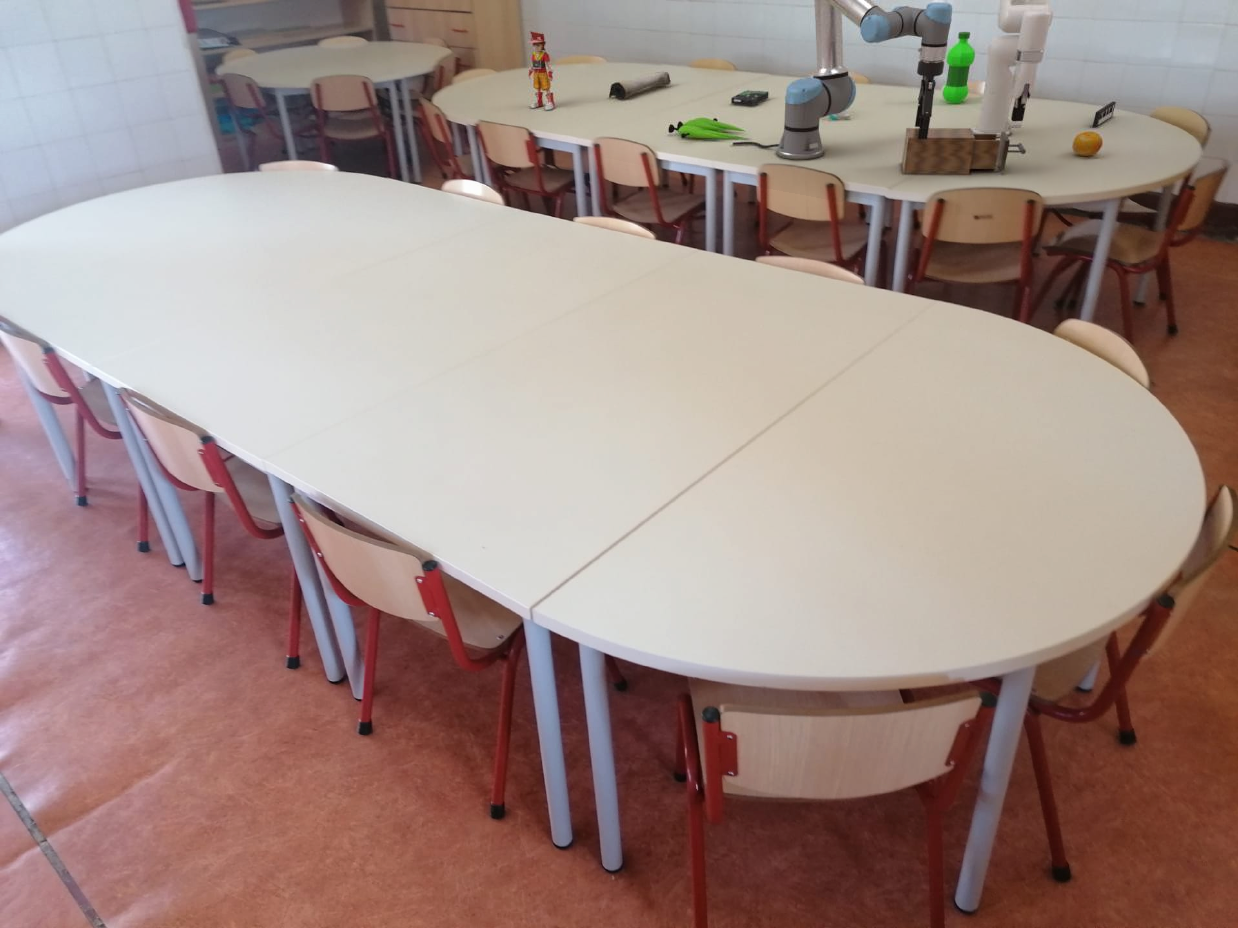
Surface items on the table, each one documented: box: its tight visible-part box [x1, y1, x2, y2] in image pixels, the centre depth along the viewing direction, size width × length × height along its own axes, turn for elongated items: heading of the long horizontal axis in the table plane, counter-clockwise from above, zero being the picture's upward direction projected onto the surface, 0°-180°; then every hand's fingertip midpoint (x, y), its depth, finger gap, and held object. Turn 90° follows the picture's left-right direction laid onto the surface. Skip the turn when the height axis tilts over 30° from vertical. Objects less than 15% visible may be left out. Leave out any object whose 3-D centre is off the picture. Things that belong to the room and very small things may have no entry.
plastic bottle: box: [942, 31, 976, 104], centre depth 348 cm, size 10×10×25 cm
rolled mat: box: [608, 71, 672, 101], centre depth 395 cm, size 30×9×10 cm
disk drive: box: [730, 89, 770, 107], centre depth 372 cm, size 10×3×15 cm
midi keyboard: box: [1092, 101, 1117, 128], centre depth 320 cm, size 18×1×5 cm, turn 138°
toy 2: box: [667, 117, 749, 140], centre depth 332 cm, size 28×5×30 cm
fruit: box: [1072, 131, 1103, 157], centre depth 289 cm, size 8×8×8 cm
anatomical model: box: [828, 111, 851, 121], centre depth 345 cm, size 15×10×10 cm
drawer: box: [970, 132, 1027, 172], centre depth 282 cm, size 24×10×9 cm, turn 79°
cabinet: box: [901, 127, 975, 175], centre depth 285 cm, size 20×11×11 cm, turn 79°
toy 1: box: [527, 31, 556, 111], centre depth 374 cm, size 12×9×30 cm
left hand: (920, 132), depth 283 cm, fingers open, 13 cm apart
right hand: (1016, 120), depth 275 cm, fingers closed
